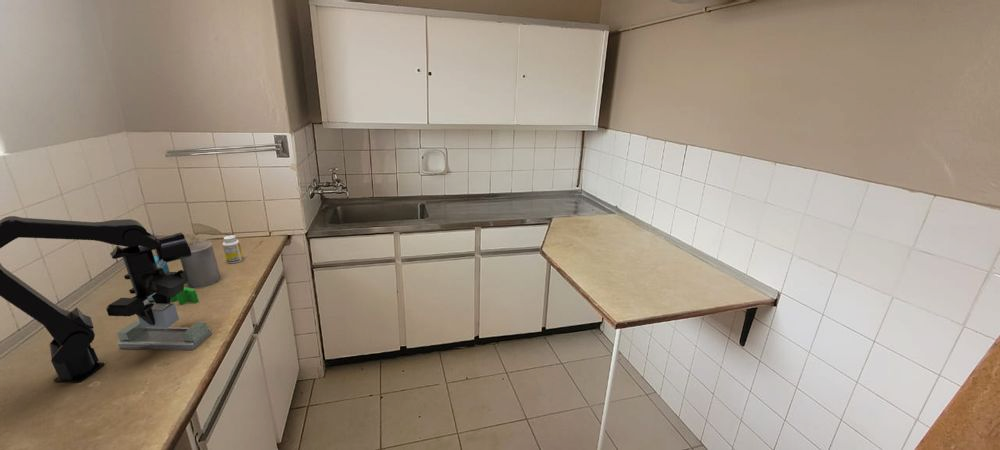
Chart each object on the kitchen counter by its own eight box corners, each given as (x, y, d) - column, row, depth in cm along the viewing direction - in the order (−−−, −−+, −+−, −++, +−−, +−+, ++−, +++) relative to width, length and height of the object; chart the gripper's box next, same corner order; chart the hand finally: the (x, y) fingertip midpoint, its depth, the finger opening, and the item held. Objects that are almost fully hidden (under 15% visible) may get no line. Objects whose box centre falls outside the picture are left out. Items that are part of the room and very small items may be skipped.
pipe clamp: (165, 300, 130) (161, 288, 128) (177, 295, 133) (174, 283, 131) (186, 307, 126) (182, 295, 124) (199, 302, 129) (195, 289, 127)
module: (167, 327, 105) (162, 310, 104) (141, 327, 106) (135, 310, 104) (179, 319, 109) (174, 302, 107) (154, 318, 109) (148, 302, 107)
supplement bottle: (236, 257, 161) (231, 233, 157) (246, 259, 159) (241, 235, 155) (223, 262, 156) (217, 238, 152) (233, 264, 154) (227, 240, 151)
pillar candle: (187, 279, 142) (175, 241, 137) (220, 272, 148) (210, 235, 143) (188, 291, 135) (176, 251, 130) (222, 282, 141) (211, 244, 135)
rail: (193, 349, 106) (189, 335, 105) (119, 348, 106) (114, 334, 105) (211, 334, 113) (207, 320, 111) (142, 332, 113) (137, 319, 111)
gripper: (141, 286, 93) (160, 342, 98) (199, 253, 110) (213, 302, 116) (94, 285, 93) (116, 341, 98) (160, 253, 110) (175, 301, 116)
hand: (159, 320), depth 107 cm, fingers closed on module, 4 cm apart
